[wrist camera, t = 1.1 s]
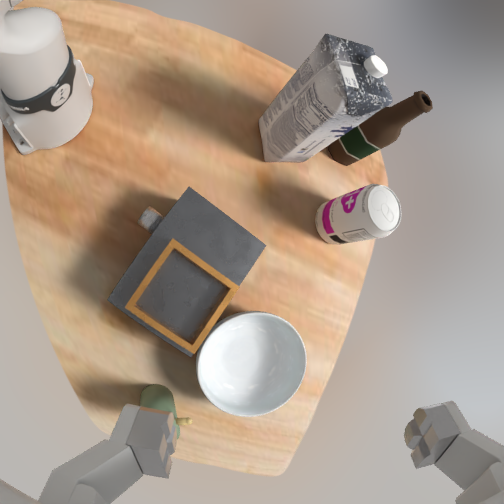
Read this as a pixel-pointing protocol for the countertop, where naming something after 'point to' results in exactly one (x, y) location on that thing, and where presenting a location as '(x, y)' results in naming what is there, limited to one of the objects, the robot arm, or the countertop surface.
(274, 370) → the cereal bowl
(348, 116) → the juice carton
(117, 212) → the countertop surface
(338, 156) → the beer bottle
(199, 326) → the box
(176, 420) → the oil can
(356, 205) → the supplement can
